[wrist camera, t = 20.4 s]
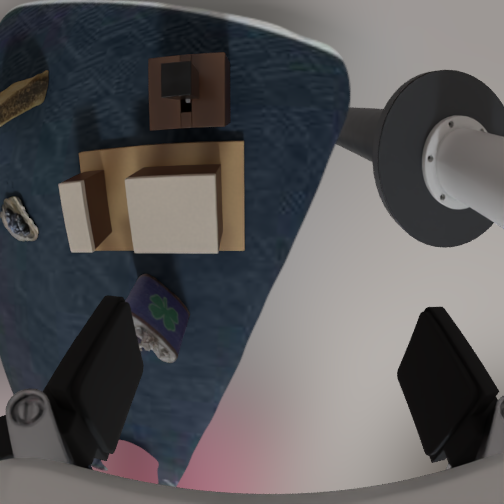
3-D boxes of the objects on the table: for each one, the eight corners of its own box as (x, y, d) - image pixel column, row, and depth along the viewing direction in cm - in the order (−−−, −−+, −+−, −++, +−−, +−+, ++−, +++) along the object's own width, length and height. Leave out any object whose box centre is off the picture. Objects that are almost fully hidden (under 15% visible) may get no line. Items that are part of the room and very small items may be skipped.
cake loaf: (221, 163, 34) (215, 175, 29) (223, 231, 38) (218, 253, 32) (143, 167, 34) (124, 179, 29) (149, 232, 38) (134, 253, 32)
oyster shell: (11, 186, 36) (3, 190, 34) (46, 219, 38) (39, 224, 36) (-1, 220, 38) (-9, 225, 36) (31, 251, 40) (25, 257, 38)
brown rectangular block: (104, 169, 34) (80, 181, 29) (112, 231, 38) (92, 252, 32) (83, 171, 34) (58, 184, 29) (92, 232, 38) (71, 252, 32)
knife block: (230, 62, 30) (224, 52, 24) (230, 123, 33) (225, 126, 27) (167, 67, 30) (148, 58, 24) (168, 125, 33) (149, 130, 27)
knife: (204, 76, 30) (190, 56, 18) (204, 103, 32) (191, 99, 19) (185, 77, 30) (160, 59, 18) (185, 104, 31) (161, 101, 19)
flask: (135, 279, 42) (107, 327, 32) (148, 267, 41) (122, 315, 31) (181, 323, 45) (166, 377, 35) (195, 313, 44) (183, 368, 35)
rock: (-17, 149, 31) (23, 156, 31) (-52, 120, 22) (-14, 122, 22) (19, 87, 33) (63, 87, 33) (-7, 53, 25) (37, 46, 25)
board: (244, 140, 34) (243, 141, 33) (244, 247, 40) (244, 250, 39) (82, 151, 34) (78, 153, 33) (96, 247, 40) (93, 250, 39)
